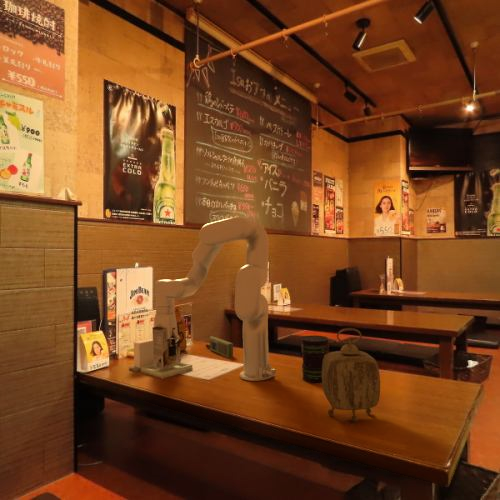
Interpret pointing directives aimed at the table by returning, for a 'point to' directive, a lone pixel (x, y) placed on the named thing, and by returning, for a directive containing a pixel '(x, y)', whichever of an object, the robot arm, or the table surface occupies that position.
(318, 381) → the storage jar
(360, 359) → the tabletop clock
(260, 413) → the table surface
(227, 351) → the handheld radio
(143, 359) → the panel unit
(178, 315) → the coffee package
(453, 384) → the table surface
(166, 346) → the coffee box
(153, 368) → the tray
